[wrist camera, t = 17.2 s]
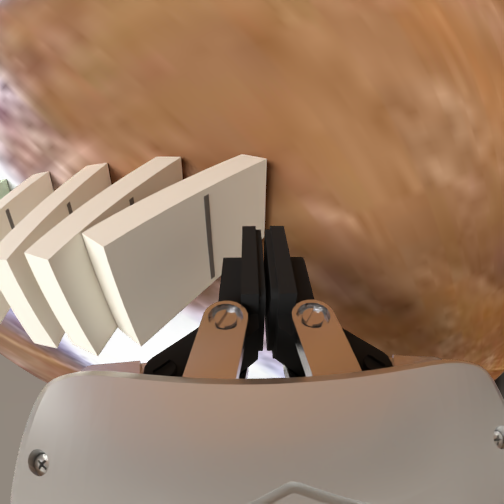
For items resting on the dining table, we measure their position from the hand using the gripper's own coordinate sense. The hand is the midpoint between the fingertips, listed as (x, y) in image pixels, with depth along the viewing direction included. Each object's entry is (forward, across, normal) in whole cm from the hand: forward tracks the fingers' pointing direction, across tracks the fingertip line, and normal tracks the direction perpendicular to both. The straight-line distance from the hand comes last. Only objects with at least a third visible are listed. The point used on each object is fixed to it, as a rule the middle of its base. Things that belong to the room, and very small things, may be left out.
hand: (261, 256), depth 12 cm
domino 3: (+6, +10, 0) cm, 12 cm away
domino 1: (+6, 0, 0) cm, 6 cm away
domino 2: (+6, +5, 0) cm, 8 cm away
